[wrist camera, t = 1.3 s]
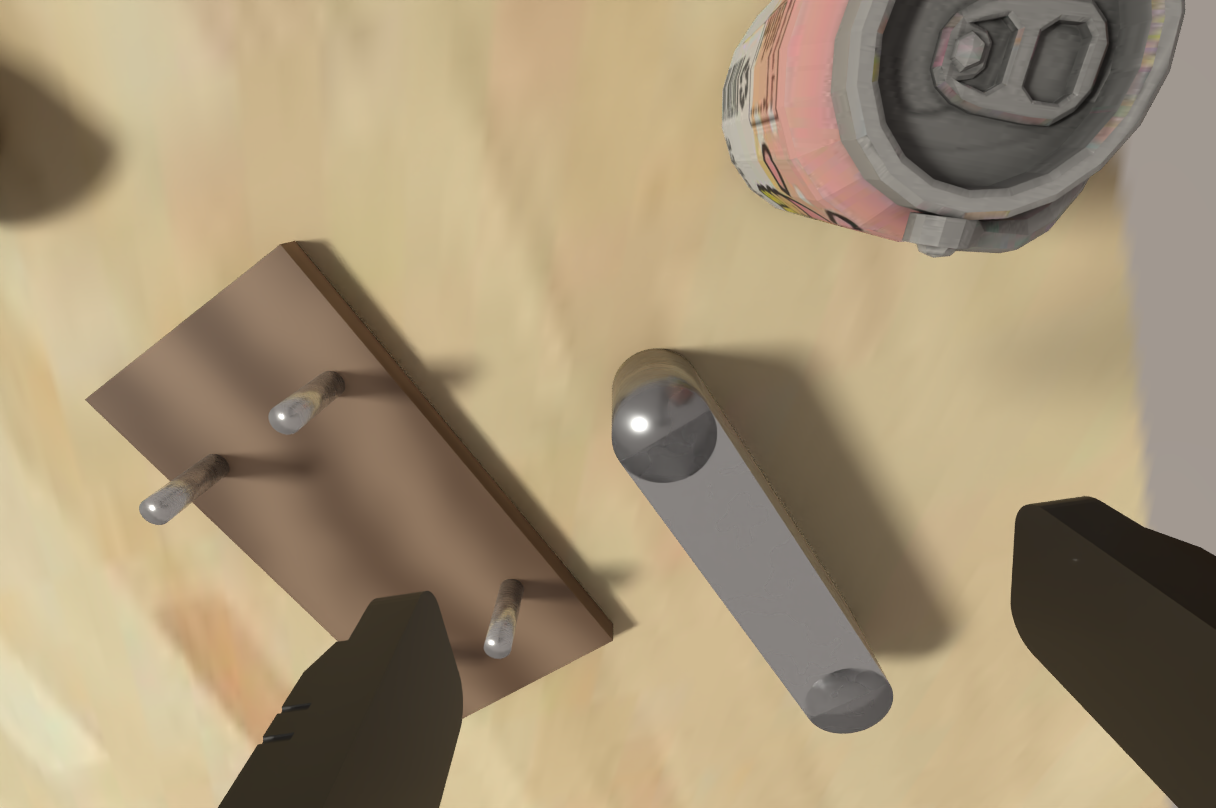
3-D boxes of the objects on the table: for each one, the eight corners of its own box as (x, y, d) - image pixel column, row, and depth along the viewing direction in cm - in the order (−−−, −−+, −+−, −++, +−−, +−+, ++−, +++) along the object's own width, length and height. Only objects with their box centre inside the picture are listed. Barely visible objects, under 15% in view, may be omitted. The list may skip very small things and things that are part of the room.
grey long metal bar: (670, 331, 27) (682, 366, 22) (865, 633, 33) (907, 711, 28) (595, 379, 27) (591, 422, 23) (798, 664, 33) (828, 745, 29)
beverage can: (992, -6, 22) (1385, -184, 11) (922, 233, 25) (1171, 287, 14) (739, -39, 22) (873, -259, 10) (700, 207, 25) (771, 241, 14)
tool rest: (294, 240, 25) (219, 258, 20) (613, 624, 33) (612, 704, 28) (106, 390, 28) (-1, 437, 23) (439, 715, 35) (411, 803, 30)
